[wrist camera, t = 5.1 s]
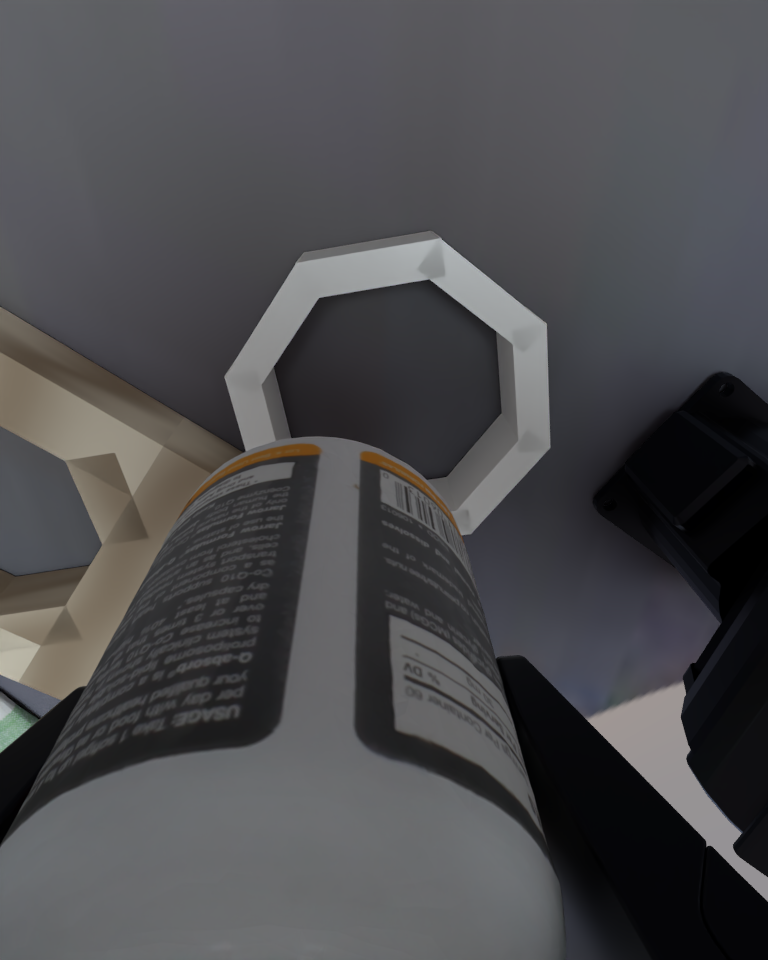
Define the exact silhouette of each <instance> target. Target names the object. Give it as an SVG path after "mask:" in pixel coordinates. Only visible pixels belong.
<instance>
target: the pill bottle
mask: <svg viewBox="0 0 768 960" xmlns="http://www.w3.org/2000/svg"><path fill="white" fill-rule="evenodd" d="M0 960H566V926H565V917H564V908H563V899H562V891H561V887H560V882H559V879H558V876H557V873H556V870H555V867H554V864H553V861H552V858H551V856H550V853H549V849H548V845H547V842H546V838H545V834H544V831H543V827H542V824H541V820H540V816H539V813H538V809H537V805H536V801H535V797H534V793H533V791H532V788H531V785H530V781H529V778H528V774H527V771H526V767H525V763H524V760H523V756H522V752H521V748H520V744H519V741H518V737H517V733H516V729H515V726H514V722H513V719H512V716H511V713H510V709H509V706H508V702H507V699H506V695H505V691H504V687H503V682H502V678H501V675H500V672H499V669H498V665H497V662H496V658H495V655H494V651H493V647H492V643H491V640H490V636H489V632H488V628H487V624H486V620H485V615H484V612H483V609H482V606H481V603H480V598H479V594H478V591H477V587H476V583H475V579H474V576H473V572H472V568H471V564H470V561H469V557H468V554H467V551H466V548H465V545H464V542H463V539H462V536H461V533H460V531H459V528H458V525H457V523H456V520H455V519H454V517H453V515H452V512H451V510H450V509H449V507H448V505H447V504H446V502H445V501H444V499H443V498H442V497H441V495H440V494H439V493H438V492H437V490H436V489H435V488H434V487H433V486H432V485H431V484H430V483H429V482H428V481H427V480H426V479H425V478H424V477H423V476H422V475H421V474H420V473H419V472H417V471H416V470H415V469H413V468H412V467H411V466H409V465H408V464H406V463H405V462H403V461H401V460H399V459H397V458H395V457H394V456H392V455H390V454H388V453H386V452H385V451H383V450H381V449H379V448H376V447H373V446H371V445H368V444H364V443H361V442H358V441H353V440H348V439H342V438H336V437H321V436H313V437H299V438H289V439H281V440H278V441H274V442H271V443H268V444H265V445H262V446H258V447H255V448H252V449H250V450H248V451H246V452H244V453H242V454H240V455H238V456H236V457H234V458H233V459H231V460H229V461H228V462H226V463H224V464H223V465H222V466H221V467H219V468H218V469H217V470H216V471H214V472H213V473H212V474H211V475H210V476H209V477H208V478H207V479H206V480H205V481H204V482H203V483H202V484H201V485H200V487H199V488H198V489H197V490H196V491H195V493H194V494H193V495H192V497H191V498H190V500H189V501H188V503H187V504H186V506H185V507H184V509H183V510H182V512H181V513H180V515H179V517H178V519H177V520H176V522H175V524H174V525H173V527H172V528H171V530H170V531H169V533H168V535H167V537H166V539H165V541H164V543H163V545H162V547H161V549H160V551H159V553H158V554H157V556H156V558H155V560H154V561H153V563H152V565H151V567H150V569H149V571H148V573H147V575H146V577H145V579H144V580H143V582H142V584H141V586H140V588H139V589H138V591H137V593H136V595H135V597H134V598H133V600H132V602H131V604H130V606H129V607H128V610H127V612H126V614H125V616H124V618H123V619H122V621H121V623H120V625H119V626H118V628H117V630H116V632H115V633H114V635H113V637H112V639H111V641H110V643H109V645H108V646H107V648H106V650H105V652H104V654H103V656H102V658H101V660H100V661H99V663H98V665H97V667H96V669H95V671H94V673H93V675H92V676H91V678H90V680H89V682H88V684H87V686H86V688H85V689H84V691H83V693H82V695H81V697H80V699H79V700H78V702H77V704H76V706H75V707H74V709H73V711H72V713H71V715H70V717H69V719H68V720H67V722H66V724H65V726H64V728H63V730H62V732H61V733H60V735H59V737H58V739H57V741H56V743H55V745H54V748H53V750H52V751H51V753H50V755H49V757H48V758H47V760H46V762H45V763H44V765H43V767H42V769H41V770H40V772H39V774H38V776H37V778H36V780H35V782H34V784H33V786H32V788H31V791H30V792H29V794H28V796H27V798H26V799H25V801H24V803H23V805H22V806H21V808H20V810H19V812H18V814H17V816H16V818H15V820H14V821H13V823H12V825H11V827H10V828H9V830H8V832H7V834H6V836H5V837H4V839H3V841H2V843H1V845H0Z"/></svg>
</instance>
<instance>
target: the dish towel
mask: <svg viewBox="0 0 768 960" xmlns="http://www.w3.org/2000/svg"><path fill="white" fill-rule="evenodd" d="M38 720H39V719H38V718H36V717H35V716H33V715H32V714H30V713H29V712H27V711H25V710H24V709H23V708H21V707H20V706H18V705H17V704H16V703H14V702H13V701H12V700H10V699H9V698H8V697H7V696H6V695H4V694H3V693H2V692H0V752H2V751H3V750H4V749H5V748H6V747H8V746H9V745H10V744H11V743H12V742H13V741H15V740H16V739H17V738H18V737H19V736H21V735H22V734H23V733H24V732H25V731H26V730H28V729H29V728H30V727H31V726H32V725H33V724H35V723H36V722H37V721H38Z"/></svg>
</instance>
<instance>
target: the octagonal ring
mask: <svg viewBox="0 0 768 960" xmlns="http://www.w3.org/2000/svg"><path fill="white" fill-rule="evenodd" d="M428 279H430V280H431V281H432V282H434V283H435V284H436V285H437V286H439V287H440V288H441V289H443V290H444V291H445V292H446V293H448V294H449V295H450V296H452V297H453V298H454V299H455V300H457V301H458V302H459V303H461V304H462V305H463V306H464V307H466V308H467V309H468V310H469V311H471V312H472V313H473V314H475V315H476V316H477V317H478V318H480V319H481V320H482V321H484V322H485V323H486V324H487V325H489V326H490V327H491V328H493V329H494V330H495V331H496V338H497V353H498V367H499V382H500V396H501V411H502V413H501V414H500V415H499V416H498V418H497V419H496V420H495V421H494V422H493V423H492V425H491V426H490V427H489V428H488V429H487V430H486V432H485V433H484V434H483V435H482V436H481V437H480V439H479V440H478V441H477V442H476V443H475V444H474V446H473V447H472V448H471V449H470V450H469V451H468V453H467V454H466V455H465V456H464V457H463V458H462V460H461V461H460V462H459V463H458V464H457V465H456V467H455V468H454V469H453V470H452V471H451V472H450V474H449V475H448V476H447V477H443V478H437V479H430V480H427V481H428V482H429V483H430V484H431V485H432V486H433V487H434V488H435V489H436V490H437V492H438V493H439V494H440V495H441V497H442V498H443V499H444V501H445V502H446V504H447V505H448V507H449V509H450V510H451V512H452V515H453V517H454V519H455V520H456V523H457V525H458V528H459V531H460V533H461V535H467V534H470V535H471V534H472V532H473V531H474V530H475V529H476V528H477V527H478V526H479V525H480V524H481V523H482V522H483V520H484V519H485V518H486V517H487V516H488V515H489V514H490V513H491V512H492V511H493V510H494V509H495V507H496V506H497V505H498V504H499V503H500V502H501V501H502V500H503V499H504V498H505V497H506V495H507V494H508V493H509V492H510V491H511V490H512V489H513V488H514V487H515V486H516V485H517V484H518V482H519V481H520V480H521V479H522V478H523V477H524V476H525V475H526V474H527V473H528V472H529V470H530V469H531V468H532V467H533V466H534V465H535V464H536V463H537V462H538V461H539V460H540V458H541V457H542V456H543V455H544V454H545V453H546V452H547V451H548V450H549V449H550V448H551V446H550V420H549V386H548V352H547V323H545V322H544V321H543V320H542V319H540V318H539V317H538V316H537V315H535V314H534V313H533V312H532V311H530V310H529V309H528V308H526V307H524V306H523V305H522V304H521V303H519V302H518V301H517V300H516V299H514V298H513V297H512V296H511V295H510V294H508V293H507V292H506V291H505V290H503V289H502V288H501V287H500V286H498V285H497V284H496V283H495V282H493V281H492V280H491V279H490V278H489V277H487V276H486V275H485V274H484V273H482V272H481V271H480V270H479V269H477V268H476V267H475V266H474V265H473V264H471V263H470V262H469V261H468V260H466V259H465V258H464V257H463V256H461V255H460V254H459V253H458V252H456V251H455V250H454V249H453V248H452V247H450V246H449V245H448V244H447V243H445V242H444V241H443V240H442V238H441V237H439V236H438V235H437V234H435V233H434V232H433V231H430V230H429V231H426V232H420V233H414V234H409V235H403V236H397V237H391V238H385V239H379V240H373V241H368V242H362V243H356V244H350V245H344V246H338V247H332V248H327V249H321V250H315V251H309V252H303V253H302V255H301V256H300V257H299V259H298V260H297V262H296V263H295V266H294V268H293V269H292V271H291V272H290V274H289V276H288V277H287V279H286V280H285V282H284V284H283V285H282V287H281V288H280V290H279V292H278V293H277V295H276V296H275V298H274V299H273V301H272V303H271V304H270V306H269V307H268V309H267V311H266V312H265V314H264V315H263V317H262V319H261V320H260V322H259V323H258V325H257V326H256V328H255V330H254V331H253V333H252V334H251V336H250V338H249V339H248V341H247V342H246V344H245V346H244V347H243V349H242V350H241V352H240V354H239V355H238V357H237V358H236V360H235V361H234V363H233V364H232V366H231V367H230V369H229V370H228V371H227V373H226V374H225V376H224V378H225V380H226V384H227V387H228V391H229V394H230V398H231V401H232V405H233V408H234V412H235V415H236V418H237V422H238V425H239V429H240V432H241V436H242V439H243V443H244V446H245V450H246V451H248V450H250V449H252V448H255V447H258V446H262V445H265V444H268V443H271V442H274V441H278V440H281V439H289V438H291V435H290V431H289V427H288V423H287V419H286V415H285V411H284V406H283V402H282V398H281V394H280V390H279V386H278V382H277V378H276V374H275V370H274V365H275V364H276V362H277V361H278V359H279V358H280V356H281V355H282V353H283V352H284V350H285V349H286V347H287V346H288V344H289V343H290V341H291V340H292V338H293V336H294V335H295V333H296V332H297V330H298V329H299V327H300V326H301V324H302V323H303V321H304V320H305V318H306V317H307V315H308V314H309V312H310V311H311V309H312V308H313V306H314V305H315V303H316V302H317V300H318V299H319V298H321V297H327V296H333V295H339V294H345V293H351V292H357V291H363V290H369V289H375V288H381V287H387V286H392V285H398V284H404V283H410V282H416V281H422V280H428Z"/></svg>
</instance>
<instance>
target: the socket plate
mask: <svg viewBox="0 0 768 960" xmlns="http://www.w3.org/2000/svg"><path fill="white" fill-rule="evenodd" d="M0 426H1V427H3V428H5V429H7V430H9V431H10V432H12V433H14V434H16V435H18V436H20V437H21V438H23V439H25V440H27V441H29V442H31V443H33V444H34V445H36V446H38V447H40V448H42V449H44V450H46V451H47V452H49V453H51V454H53V455H55V456H57V457H58V458H60V459H62V460H64V461H65V462H66V464H67V466H68V468H69V471H70V473H71V475H72V477H73V480H74V482H75V484H76V486H77V489H78V491H79V493H80V495H81V498H82V500H83V502H84V504H85V507H86V509H87V511H88V513H89V516H90V518H91V520H92V522H93V524H94V527H95V529H96V531H97V533H98V536H99V538H100V540H101V542H102V547H101V548H100V550H99V552H98V553H97V555H96V556H95V558H94V560H93V561H92V563H91V565H90V566H83V567H76V568H70V569H63V570H57V571H50V572H44V573H37V574H30V575H24V576H17V577H15V576H13V575H11V574H9V573H7V572H5V571H2V570H0V675H2V676H5V677H7V678H9V679H12V680H14V681H17V682H19V683H21V684H24V685H26V686H29V687H31V688H33V689H36V690H38V691H40V692H43V693H45V694H48V695H50V696H52V697H55V698H57V699H60V700H63V699H64V698H65V697H66V696H68V695H69V694H70V693H71V692H72V691H74V690H75V689H77V688H78V687H81V686H87V684H88V682H89V680H90V678H91V676H92V675H93V673H94V671H95V669H96V667H97V665H98V663H99V661H100V660H101V658H102V656H103V654H104V652H105V650H106V648H107V646H108V645H109V643H110V641H111V639H112V637H113V635H114V633H115V632H116V630H117V628H118V626H119V625H120V623H121V621H122V619H123V618H124V616H125V614H126V612H127V610H128V607H129V606H130V604H131V602H132V600H133V598H134V597H135V595H136V593H137V591H138V589H139V588H140V586H141V584H142V582H143V580H144V579H145V577H146V575H147V573H148V571H149V569H150V567H151V565H152V563H153V561H154V560H155V558H156V556H157V554H158V553H159V551H160V549H161V547H162V545H163V543H164V541H165V539H166V537H167V535H168V533H169V531H170V530H171V528H172V527H173V525H174V524H175V522H176V520H177V519H178V517H179V515H180V513H181V512H182V510H183V509H184V507H185V506H186V504H187V503H188V501H189V500H190V498H191V497H192V495H193V494H194V493H195V491H196V490H197V489H198V488H199V487H200V485H201V484H202V483H203V482H204V481H205V480H206V479H207V478H208V477H209V476H210V475H211V474H212V473H213V472H214V471H216V470H217V469H218V468H219V467H221V466H222V465H223V464H224V463H226V462H228V461H229V460H231V459H233V458H234V457H236V456H238V455H240V454H242V453H243V452H242V451H240V450H238V449H237V448H235V447H233V446H232V445H230V444H228V443H227V442H225V441H223V440H222V439H220V438H218V437H217V436H215V435H213V434H212V433H210V432H208V431H207V430H205V429H203V428H202V427H200V426H198V425H197V424H195V423H193V422H192V421H190V420H188V419H187V418H185V417H183V416H182V415H180V414H178V413H177V412H175V411H173V410H172V409H170V408H168V407H167V406H165V405H163V404H162V403H160V402H158V401H157V400H155V399H153V398H152V397H150V396H148V395H147V394H145V393H143V392H142V391H140V390H138V389H137V388H135V387H133V386H132V385H130V384H128V383H127V382H125V381H123V380H122V379H120V378H118V377H117V376H115V375H113V374H112V373H110V372H108V371H107V370H105V369H103V368H102V367H100V366H98V365H97V364H95V363H93V362H92V361H90V360H88V359H87V358H85V357H83V356H82V355H80V354H78V353H77V352H75V351H73V350H72V349H70V348H68V347H67V346H65V345H63V344H62V343H60V342H58V341H57V340H55V339H53V338H52V337H50V336H48V335H47V334H45V333H43V332H42V331H40V330H38V329H37V328H35V327H33V326H32V325H30V324H28V323H27V322H25V321H23V320H22V319H20V318H18V317H17V316H15V315H13V314H12V313H10V312H8V311H7V310H5V309H3V308H2V307H0Z"/></svg>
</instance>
